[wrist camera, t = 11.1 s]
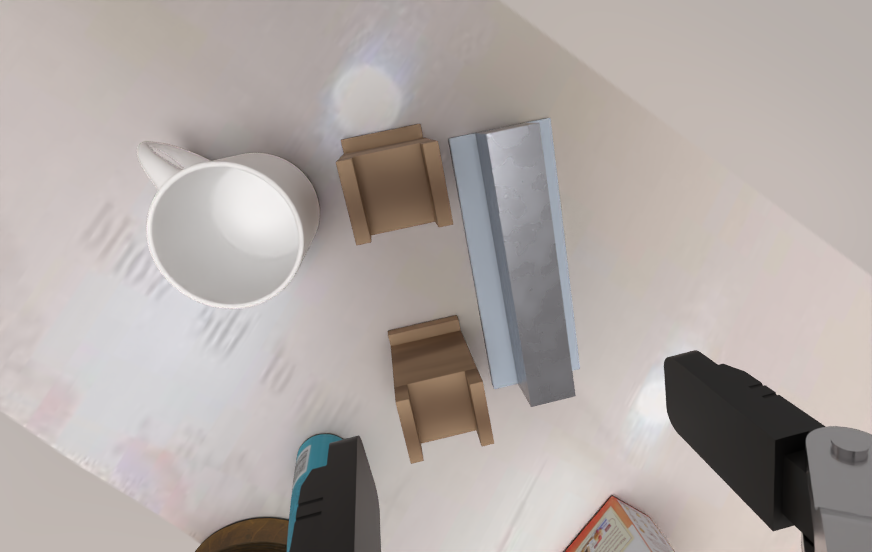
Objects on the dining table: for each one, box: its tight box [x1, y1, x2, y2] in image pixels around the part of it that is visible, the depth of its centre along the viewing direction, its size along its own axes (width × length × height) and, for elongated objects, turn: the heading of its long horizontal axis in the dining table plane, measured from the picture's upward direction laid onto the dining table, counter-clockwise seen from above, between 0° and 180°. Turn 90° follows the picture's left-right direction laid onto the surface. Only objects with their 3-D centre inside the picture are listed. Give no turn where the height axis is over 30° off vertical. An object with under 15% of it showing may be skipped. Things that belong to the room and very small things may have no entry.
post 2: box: [388, 315, 494, 464], centre depth 39 cm, size 7×6×10 cm
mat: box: [448, 118, 580, 389], centre depth 42 cm, size 22×8×1 cm, turn 11°
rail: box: [475, 123, 575, 407], centre depth 40 cm, size 22×4×4 cm, turn 11°
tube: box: [287, 434, 343, 552], centre depth 37 cm, size 7×5×19 cm, turn 176°
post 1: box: [336, 124, 453, 245], centre depth 35 cm, size 7×6×10 cm
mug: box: [137, 141, 320, 309], centre depth 33 cm, size 9×12×11 cm
